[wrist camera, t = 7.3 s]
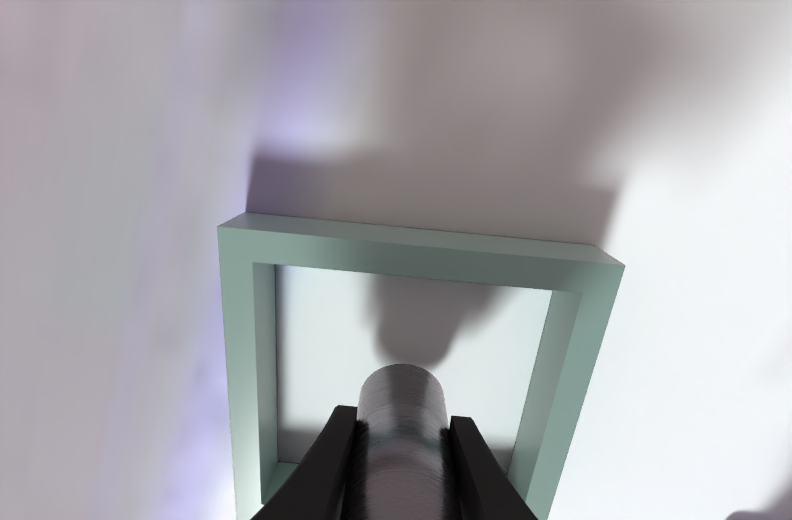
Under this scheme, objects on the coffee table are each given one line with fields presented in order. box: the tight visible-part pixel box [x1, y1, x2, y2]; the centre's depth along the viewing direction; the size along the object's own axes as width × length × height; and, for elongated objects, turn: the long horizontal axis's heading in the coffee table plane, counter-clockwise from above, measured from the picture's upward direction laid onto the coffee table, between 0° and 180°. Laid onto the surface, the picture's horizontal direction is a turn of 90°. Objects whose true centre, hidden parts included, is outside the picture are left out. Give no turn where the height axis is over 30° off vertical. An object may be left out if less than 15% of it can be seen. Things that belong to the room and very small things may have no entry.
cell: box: [340, 364, 462, 520], centre depth 11 cm, size 3×3×6 cm
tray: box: [217, 212, 625, 520], centre depth 14 cm, size 12×12×2 cm
